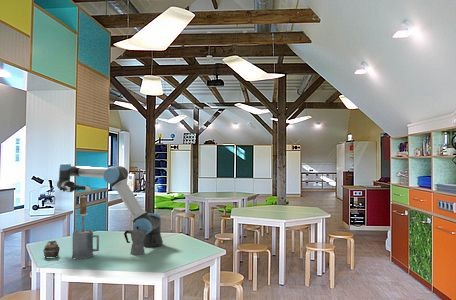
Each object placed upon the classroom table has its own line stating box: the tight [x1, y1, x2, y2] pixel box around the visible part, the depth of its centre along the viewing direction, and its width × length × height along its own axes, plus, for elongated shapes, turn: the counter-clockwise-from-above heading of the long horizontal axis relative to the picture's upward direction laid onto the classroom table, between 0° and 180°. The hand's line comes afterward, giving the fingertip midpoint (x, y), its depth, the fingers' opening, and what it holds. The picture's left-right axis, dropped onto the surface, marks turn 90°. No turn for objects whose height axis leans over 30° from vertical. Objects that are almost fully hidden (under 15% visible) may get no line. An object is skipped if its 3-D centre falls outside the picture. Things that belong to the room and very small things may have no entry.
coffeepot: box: [123, 226, 148, 256], centre depth 257 cm, size 15×9×18 cm, turn 107°
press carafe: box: [71, 229, 100, 260], centre depth 249 cm, size 16×13×16 cm
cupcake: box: [43, 240, 60, 258], centre depth 250 cm, size 10×10×10 cm
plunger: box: [76, 195, 90, 233], centre depth 250 cm, size 8×8×23 cm
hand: (79, 189), depth 259 cm, fingers open, 13 cm apart
